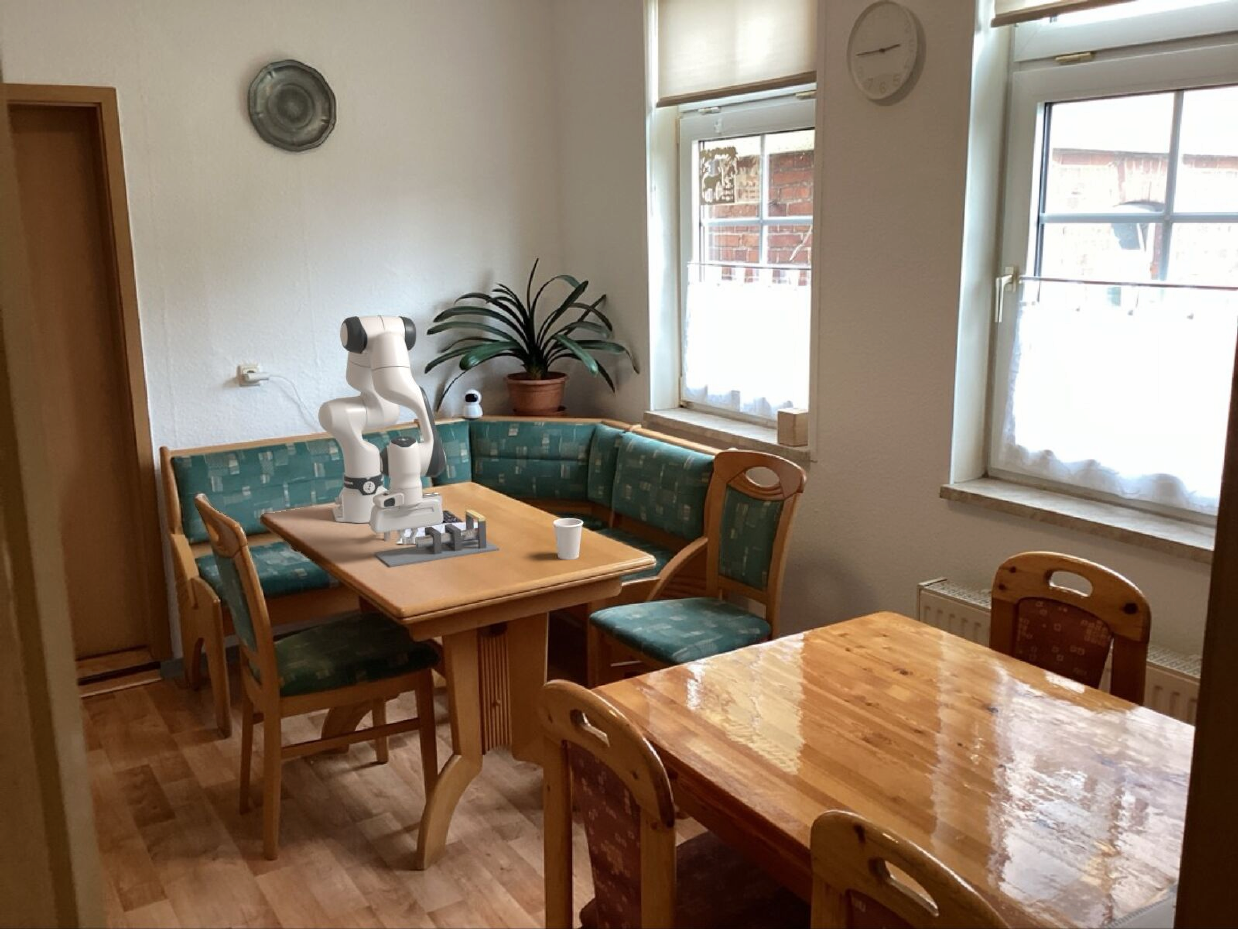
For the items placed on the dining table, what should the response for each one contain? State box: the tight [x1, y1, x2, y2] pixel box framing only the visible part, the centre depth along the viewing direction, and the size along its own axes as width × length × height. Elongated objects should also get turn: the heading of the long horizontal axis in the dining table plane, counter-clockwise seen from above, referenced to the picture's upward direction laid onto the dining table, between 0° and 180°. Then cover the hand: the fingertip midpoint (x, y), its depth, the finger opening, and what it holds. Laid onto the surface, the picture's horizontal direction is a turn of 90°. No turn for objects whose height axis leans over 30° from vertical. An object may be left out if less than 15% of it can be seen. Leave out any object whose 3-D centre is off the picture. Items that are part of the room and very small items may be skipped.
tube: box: [414, 527, 478, 548], centre depth 304 cm, size 4×20×4 cm, turn 120°
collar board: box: [373, 509, 500, 568], centre depth 302 cm, size 14×32×10 cm, turn 120°
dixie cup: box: [552, 517, 584, 561], centre depth 297 cm, size 8×8×10 cm
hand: (408, 544), depth 298 cm, fingers closed
